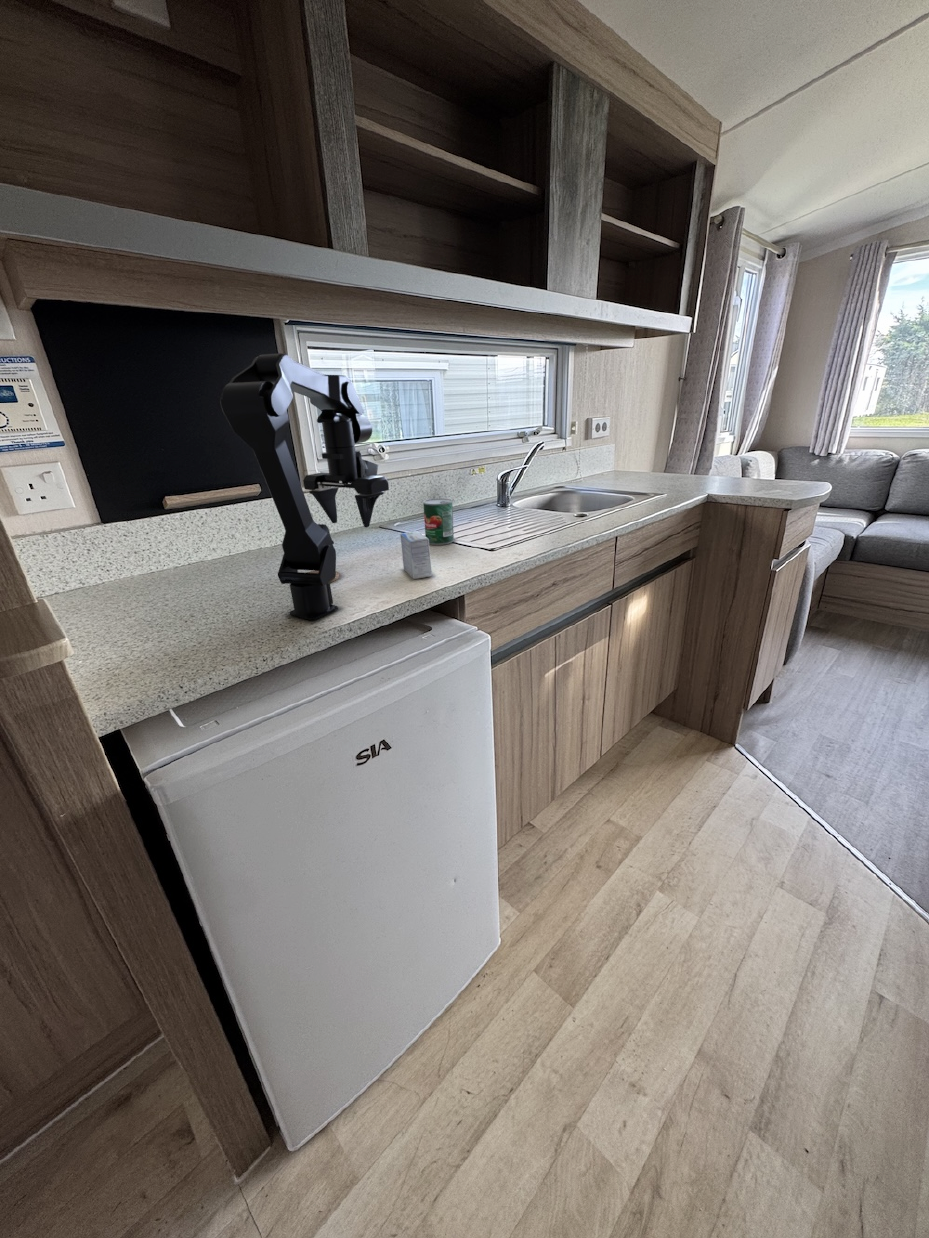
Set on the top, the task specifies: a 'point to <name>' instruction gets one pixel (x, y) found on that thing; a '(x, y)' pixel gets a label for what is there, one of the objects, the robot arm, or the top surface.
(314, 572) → the cork coaster
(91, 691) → the top surface
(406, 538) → the medicine box
